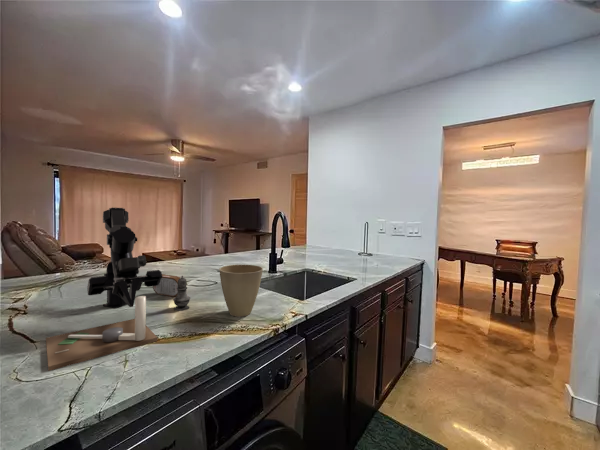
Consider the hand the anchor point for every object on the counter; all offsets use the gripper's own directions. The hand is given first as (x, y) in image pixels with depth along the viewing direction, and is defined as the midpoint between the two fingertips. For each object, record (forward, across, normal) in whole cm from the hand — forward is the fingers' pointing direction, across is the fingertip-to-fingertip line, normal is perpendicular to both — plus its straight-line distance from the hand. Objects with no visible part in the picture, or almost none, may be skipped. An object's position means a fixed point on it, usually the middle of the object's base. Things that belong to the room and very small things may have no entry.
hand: (131, 306), depth 78 cm
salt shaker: (-2, +18, +12) cm, 22 cm away
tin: (-15, +20, +26) cm, 36 cm away
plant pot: (+11, +32, 0) cm, 33 cm away
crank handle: (+8, -7, +1) cm, 10 cm away
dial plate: (+7, -7, +3) cm, 11 cm away
